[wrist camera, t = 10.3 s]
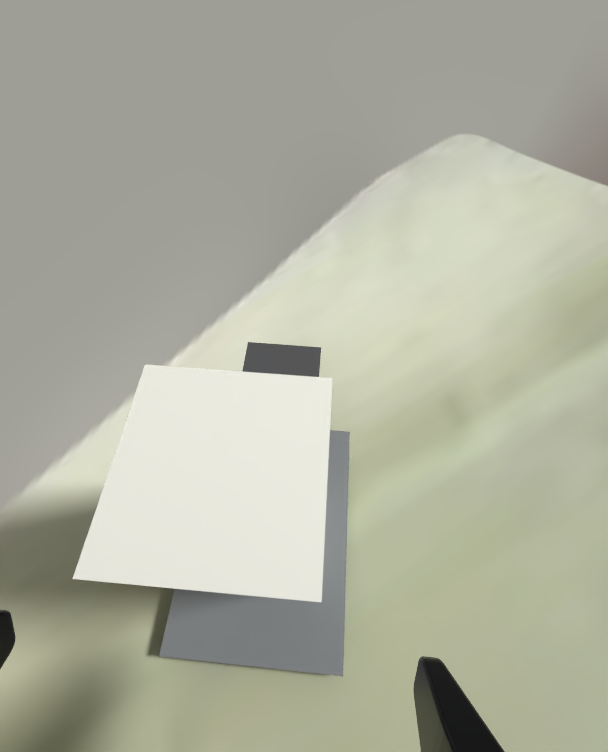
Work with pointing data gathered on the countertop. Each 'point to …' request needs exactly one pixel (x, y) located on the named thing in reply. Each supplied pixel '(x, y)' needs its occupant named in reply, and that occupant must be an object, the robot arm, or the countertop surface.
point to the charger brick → (217, 486)
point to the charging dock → (274, 615)
